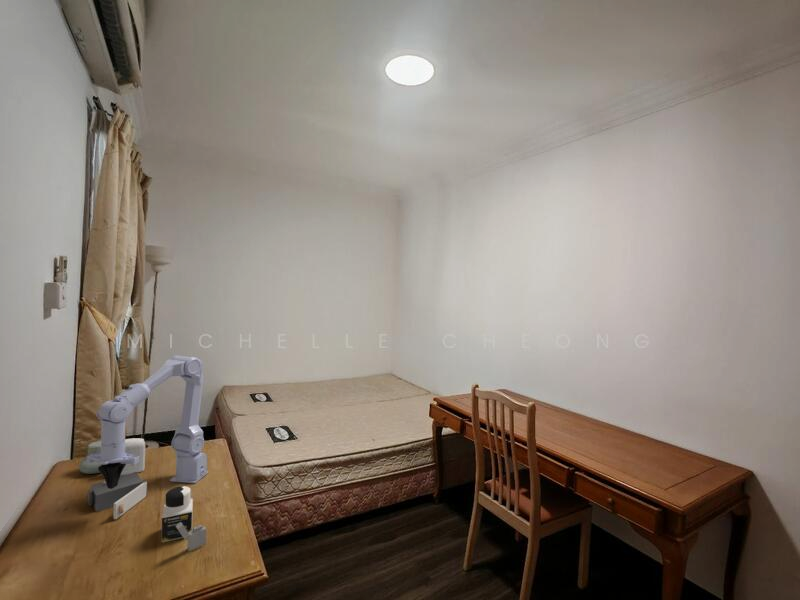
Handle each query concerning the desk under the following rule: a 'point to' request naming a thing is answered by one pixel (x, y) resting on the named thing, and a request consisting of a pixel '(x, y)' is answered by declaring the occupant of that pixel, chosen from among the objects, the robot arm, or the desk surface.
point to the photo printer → (137, 449)
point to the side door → (130, 500)
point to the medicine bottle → (177, 513)
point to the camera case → (112, 491)
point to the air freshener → (93, 466)
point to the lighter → (193, 536)
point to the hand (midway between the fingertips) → (112, 486)
